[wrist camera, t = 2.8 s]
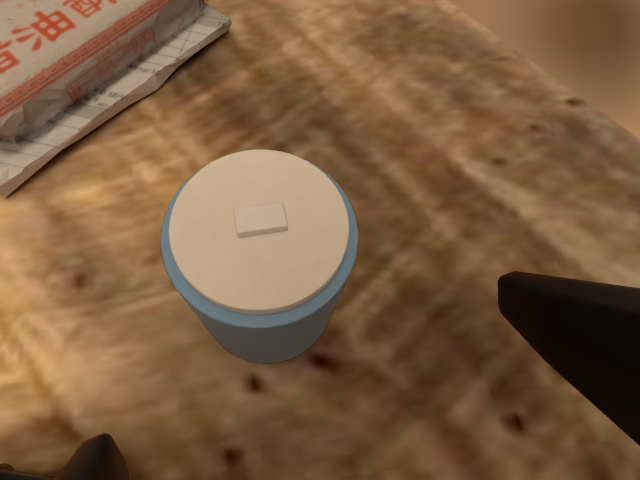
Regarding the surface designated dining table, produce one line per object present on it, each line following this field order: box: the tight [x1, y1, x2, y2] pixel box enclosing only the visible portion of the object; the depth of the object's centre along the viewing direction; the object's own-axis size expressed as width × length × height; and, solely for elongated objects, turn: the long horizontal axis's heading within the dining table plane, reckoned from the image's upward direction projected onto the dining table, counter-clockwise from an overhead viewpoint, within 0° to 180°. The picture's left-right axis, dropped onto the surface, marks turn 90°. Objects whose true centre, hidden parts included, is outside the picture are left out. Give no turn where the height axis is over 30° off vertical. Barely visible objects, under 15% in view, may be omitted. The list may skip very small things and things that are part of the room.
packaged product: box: [0, 0, 231, 197], centre depth 24 cm, size 18×5×10 cm
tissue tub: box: [161, 150, 358, 363], centre depth 17 cm, size 7×7×9 cm
